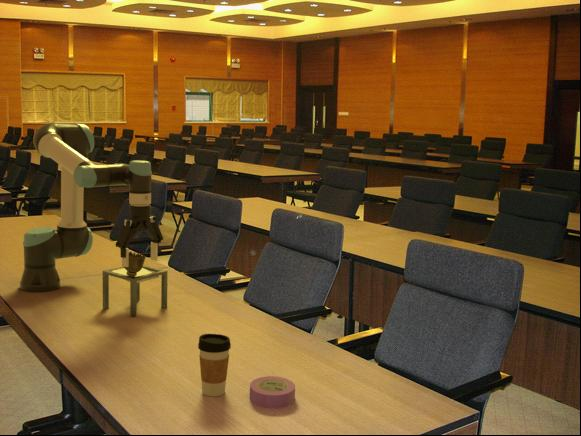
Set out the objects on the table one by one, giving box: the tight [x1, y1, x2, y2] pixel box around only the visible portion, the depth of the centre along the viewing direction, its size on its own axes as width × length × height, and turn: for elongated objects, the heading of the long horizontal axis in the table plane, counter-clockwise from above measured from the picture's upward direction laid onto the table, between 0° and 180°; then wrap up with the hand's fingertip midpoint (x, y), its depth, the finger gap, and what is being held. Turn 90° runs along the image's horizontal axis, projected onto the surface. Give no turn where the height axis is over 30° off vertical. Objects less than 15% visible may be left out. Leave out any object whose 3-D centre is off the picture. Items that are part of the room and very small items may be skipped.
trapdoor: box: [111, 268, 160, 283], centre depth 245 cm, size 12×12×1 cm
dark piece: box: [124, 251, 146, 277], centre depth 240 cm, size 8×7×8 cm
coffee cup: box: [197, 333, 231, 398], centre depth 177 cm, size 8×8×15 cm
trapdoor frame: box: [102, 264, 168, 319], centre depth 246 cm, size 16×16×14 cm
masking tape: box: [249, 375, 296, 409], centre depth 175 cm, size 12×12×4 cm
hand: (140, 263), depth 243 cm, fingers open, 13 cm apart
